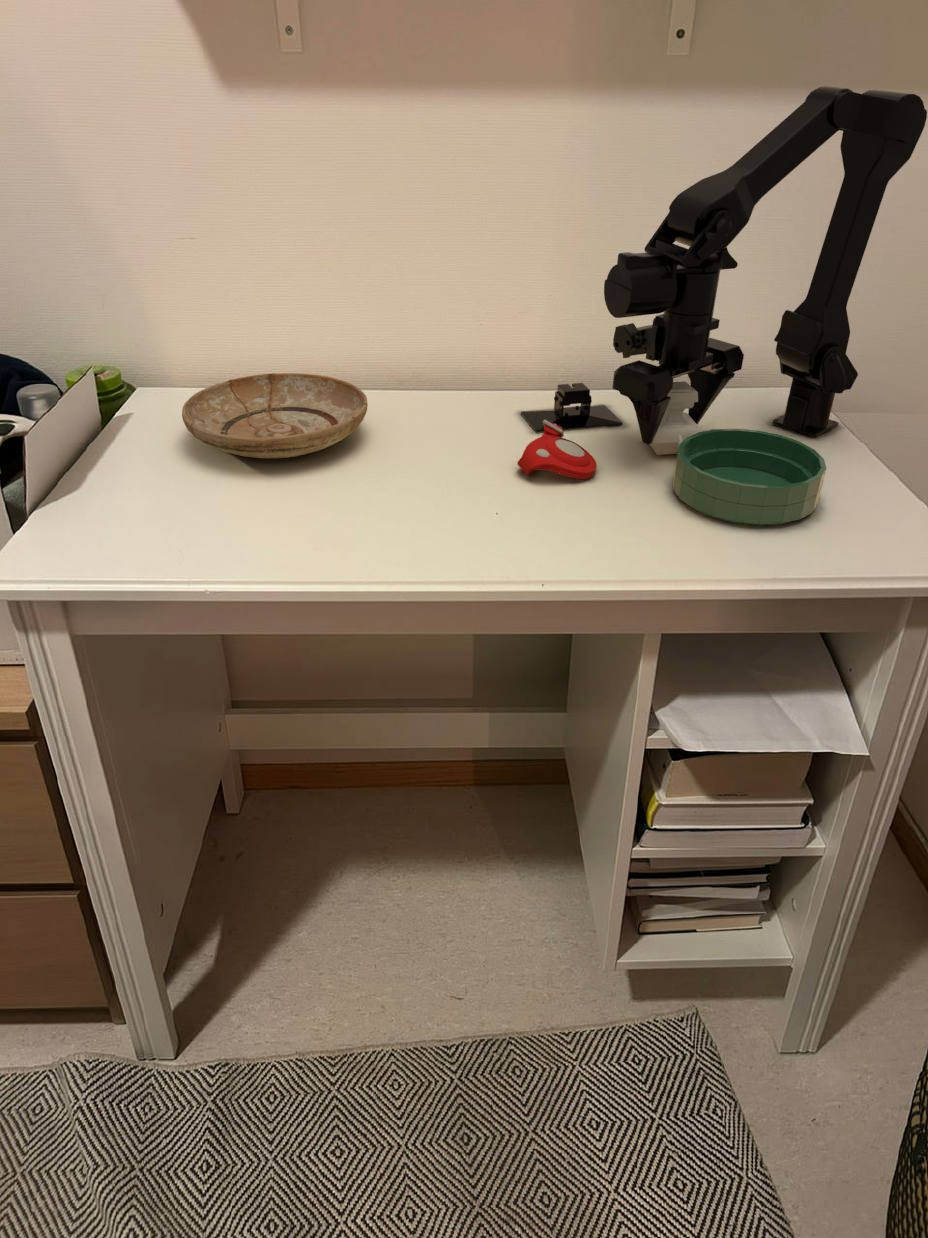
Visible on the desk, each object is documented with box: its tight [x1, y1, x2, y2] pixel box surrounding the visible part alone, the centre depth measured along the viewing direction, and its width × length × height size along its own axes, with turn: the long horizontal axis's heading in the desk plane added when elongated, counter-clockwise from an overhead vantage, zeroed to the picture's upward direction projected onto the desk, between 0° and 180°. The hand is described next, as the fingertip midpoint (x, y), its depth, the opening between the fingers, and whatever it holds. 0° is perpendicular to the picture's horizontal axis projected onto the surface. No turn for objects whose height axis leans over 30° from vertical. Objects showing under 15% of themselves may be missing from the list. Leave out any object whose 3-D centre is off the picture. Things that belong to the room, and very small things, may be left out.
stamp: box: [649, 381, 704, 456], centre depth 115 cm, size 9×7×8 cm
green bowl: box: [672, 428, 827, 527], centre depth 105 cm, size 16×16×5 cm
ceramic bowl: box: [181, 372, 369, 459], centre depth 118 cm, size 23×24×5 cm
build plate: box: [520, 382, 623, 434], centre depth 124 cm, size 12×7×5 cm, turn 105°
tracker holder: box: [517, 420, 598, 480], centre depth 112 cm, size 12×4×10 cm
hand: (670, 434), depth 116 cm, fingers closed on stamp, 9 cm apart
